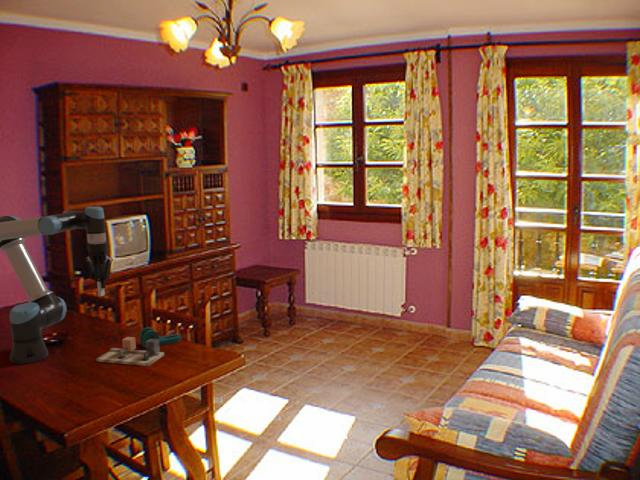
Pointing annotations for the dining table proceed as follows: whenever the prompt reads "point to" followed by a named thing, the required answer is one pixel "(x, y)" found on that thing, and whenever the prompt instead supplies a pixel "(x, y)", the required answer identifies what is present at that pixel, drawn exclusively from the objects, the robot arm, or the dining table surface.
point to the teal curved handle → (163, 340)
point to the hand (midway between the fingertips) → (101, 295)
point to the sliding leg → (128, 344)
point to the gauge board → (134, 355)
